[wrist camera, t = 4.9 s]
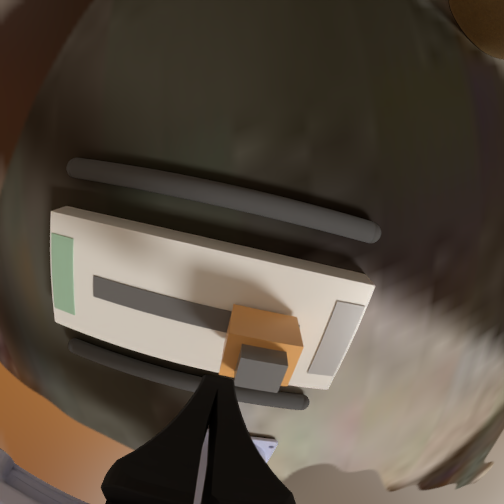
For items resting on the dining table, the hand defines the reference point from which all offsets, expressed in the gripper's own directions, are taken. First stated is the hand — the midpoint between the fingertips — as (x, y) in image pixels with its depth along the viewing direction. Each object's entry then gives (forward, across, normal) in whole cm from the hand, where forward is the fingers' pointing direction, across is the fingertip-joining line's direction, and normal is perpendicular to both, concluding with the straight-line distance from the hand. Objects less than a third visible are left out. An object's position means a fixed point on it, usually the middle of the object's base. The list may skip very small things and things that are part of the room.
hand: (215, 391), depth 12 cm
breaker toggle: (+6, -2, 0) cm, 7 cm away
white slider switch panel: (+8, +2, 0) cm, 9 cm away
